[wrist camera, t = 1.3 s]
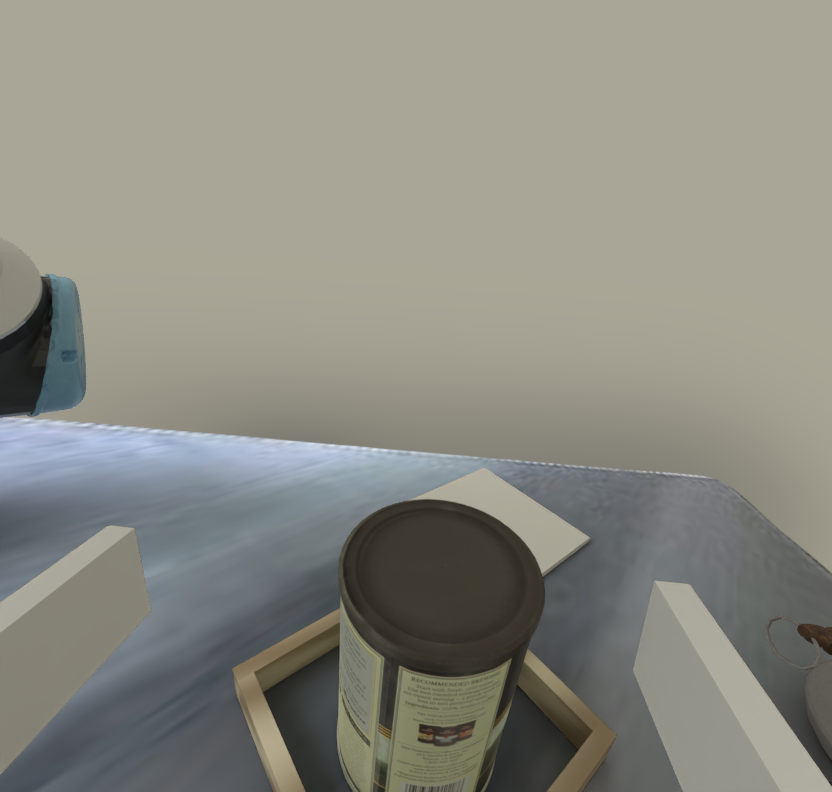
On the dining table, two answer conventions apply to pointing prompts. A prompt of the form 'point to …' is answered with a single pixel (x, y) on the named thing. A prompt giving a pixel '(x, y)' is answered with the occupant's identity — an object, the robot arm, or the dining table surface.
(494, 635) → the coffee can
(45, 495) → the dining table surface
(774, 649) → the coffee pot
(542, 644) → the dining table surface
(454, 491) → the white square board
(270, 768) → the birch frame
